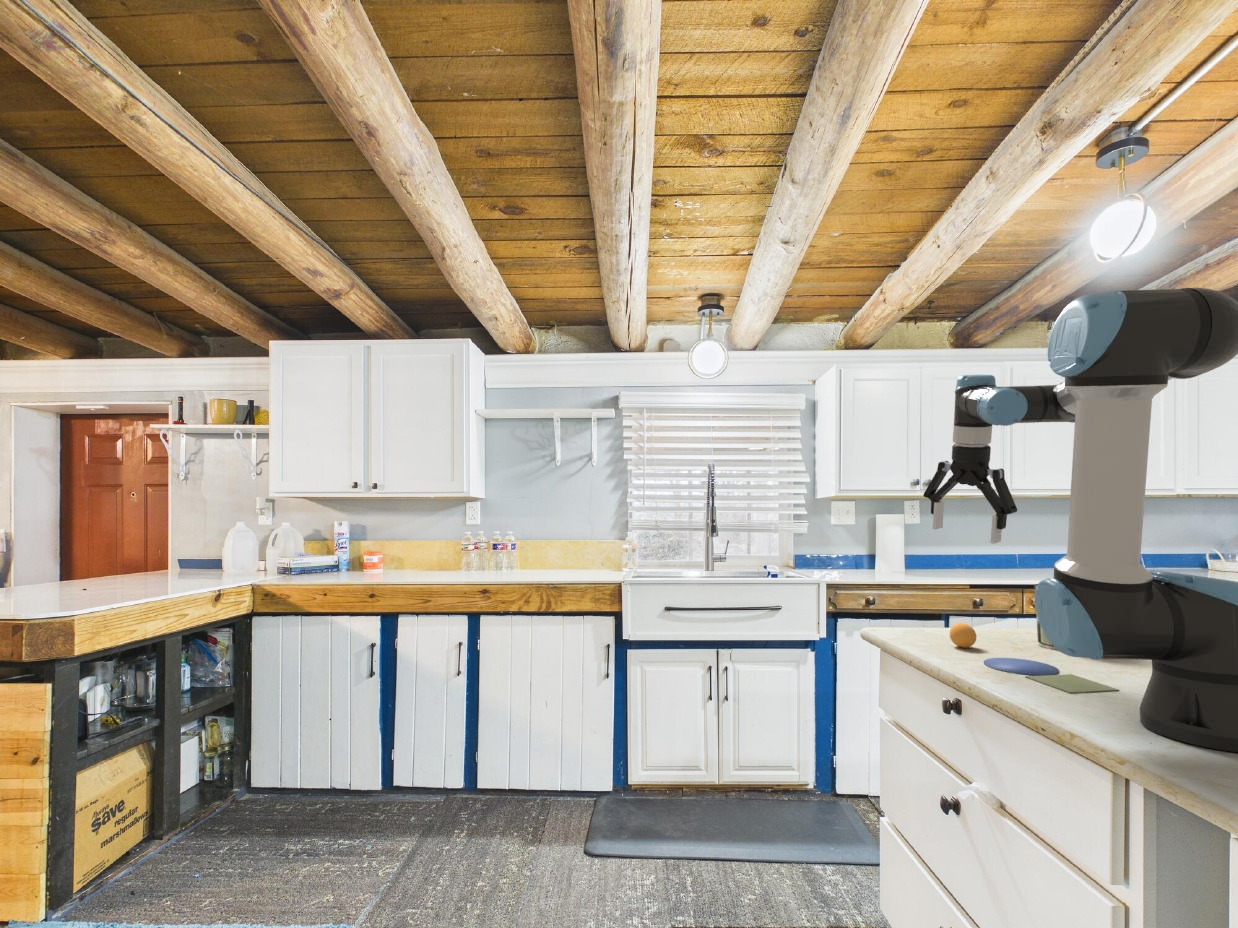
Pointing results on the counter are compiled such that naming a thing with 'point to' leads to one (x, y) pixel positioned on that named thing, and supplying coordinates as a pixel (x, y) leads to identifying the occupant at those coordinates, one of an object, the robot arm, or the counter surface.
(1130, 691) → the counter surface
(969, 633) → the ball
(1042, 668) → the disc
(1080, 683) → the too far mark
